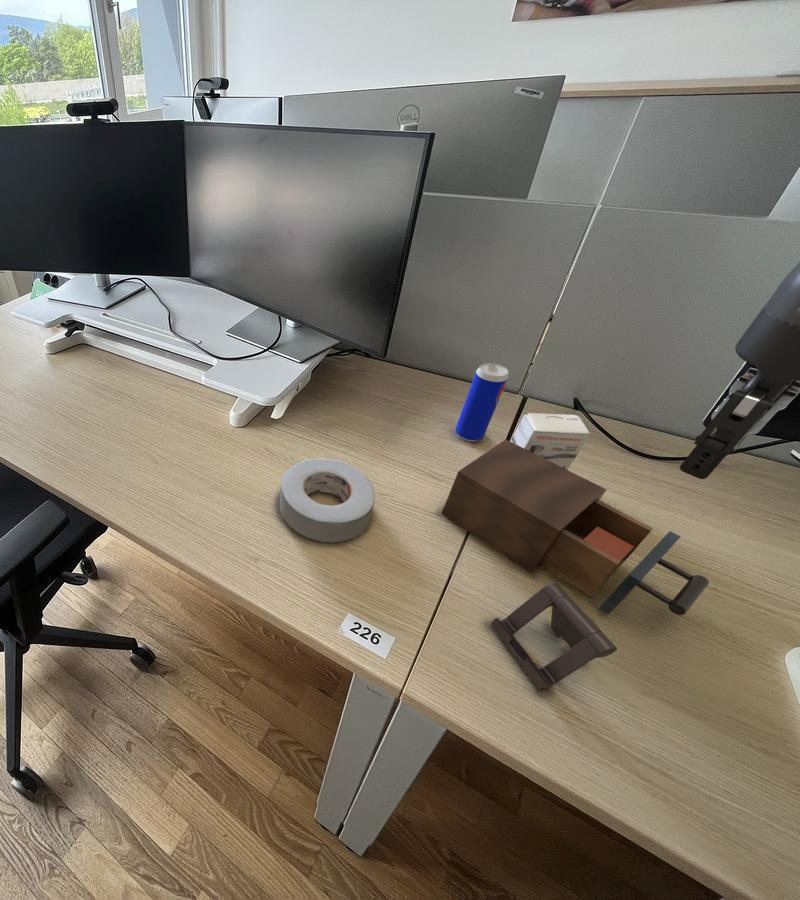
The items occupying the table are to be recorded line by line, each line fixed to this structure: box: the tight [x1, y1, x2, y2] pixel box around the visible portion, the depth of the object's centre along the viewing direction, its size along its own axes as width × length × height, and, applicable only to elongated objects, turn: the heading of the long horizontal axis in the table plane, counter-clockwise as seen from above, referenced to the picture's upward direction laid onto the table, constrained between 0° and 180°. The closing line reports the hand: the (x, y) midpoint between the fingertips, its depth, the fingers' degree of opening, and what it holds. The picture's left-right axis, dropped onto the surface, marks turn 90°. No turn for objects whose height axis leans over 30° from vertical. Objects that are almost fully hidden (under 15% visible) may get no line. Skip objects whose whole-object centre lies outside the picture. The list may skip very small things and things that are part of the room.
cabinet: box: [441, 439, 607, 574], centre depth 72 cm, size 15×13×10 cm
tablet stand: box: [490, 581, 618, 691], centre depth 57 cm, size 9×8×8 cm
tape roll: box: [279, 457, 376, 543], centre depth 79 cm, size 15×15×5 cm
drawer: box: [540, 499, 710, 616], centre depth 64 cm, size 19×12×8 cm, turn 33°
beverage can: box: [455, 362, 509, 442], centre depth 88 cm, size 5×5×15 cm
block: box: [583, 527, 634, 570], centre depth 65 cm, size 4×4×4 cm
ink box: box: [510, 412, 592, 471], centre depth 80 cm, size 9×5×12 cm, turn 80°
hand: (708, 457), depth 49 cm, fingers open, 8 cm apart
